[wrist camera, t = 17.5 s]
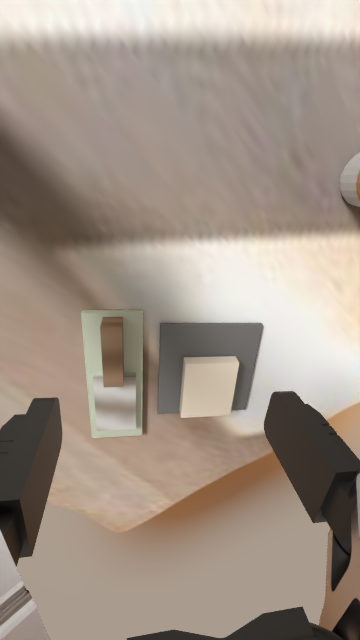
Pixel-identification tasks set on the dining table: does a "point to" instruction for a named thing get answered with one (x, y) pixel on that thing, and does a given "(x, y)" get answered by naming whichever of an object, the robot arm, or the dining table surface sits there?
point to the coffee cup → (351, 181)
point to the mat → (205, 343)
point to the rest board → (131, 360)
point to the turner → (114, 381)
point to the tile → (208, 386)
